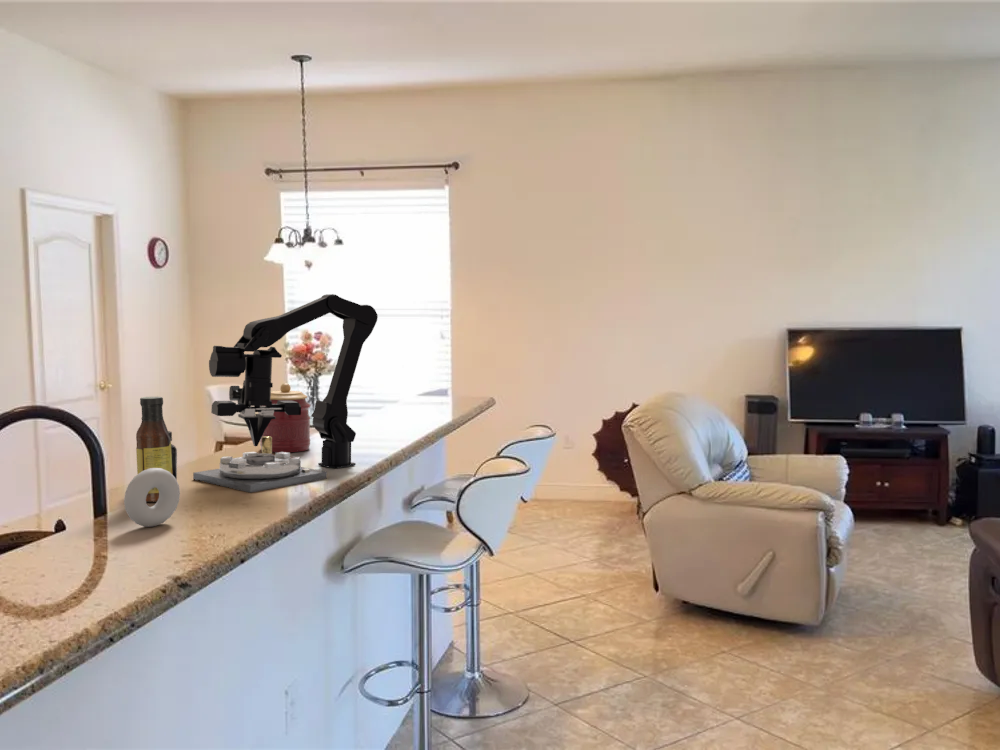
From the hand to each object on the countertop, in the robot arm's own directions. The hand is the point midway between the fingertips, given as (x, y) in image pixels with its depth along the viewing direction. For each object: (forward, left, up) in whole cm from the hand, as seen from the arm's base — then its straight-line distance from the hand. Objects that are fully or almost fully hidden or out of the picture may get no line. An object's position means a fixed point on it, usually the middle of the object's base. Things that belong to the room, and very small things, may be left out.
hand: (255, 446), depth 190 cm
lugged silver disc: (+3, +6, -5) cm, 8 cm away
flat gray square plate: (+3, +6, -6) cm, 9 cm away
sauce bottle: (+29, +8, -6) cm, 31 cm away
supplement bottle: (+24, +1, -6) cm, 25 cm away
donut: (+40, +26, -6) cm, 48 cm away
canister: (-26, -22, -6) cm, 35 cm away
